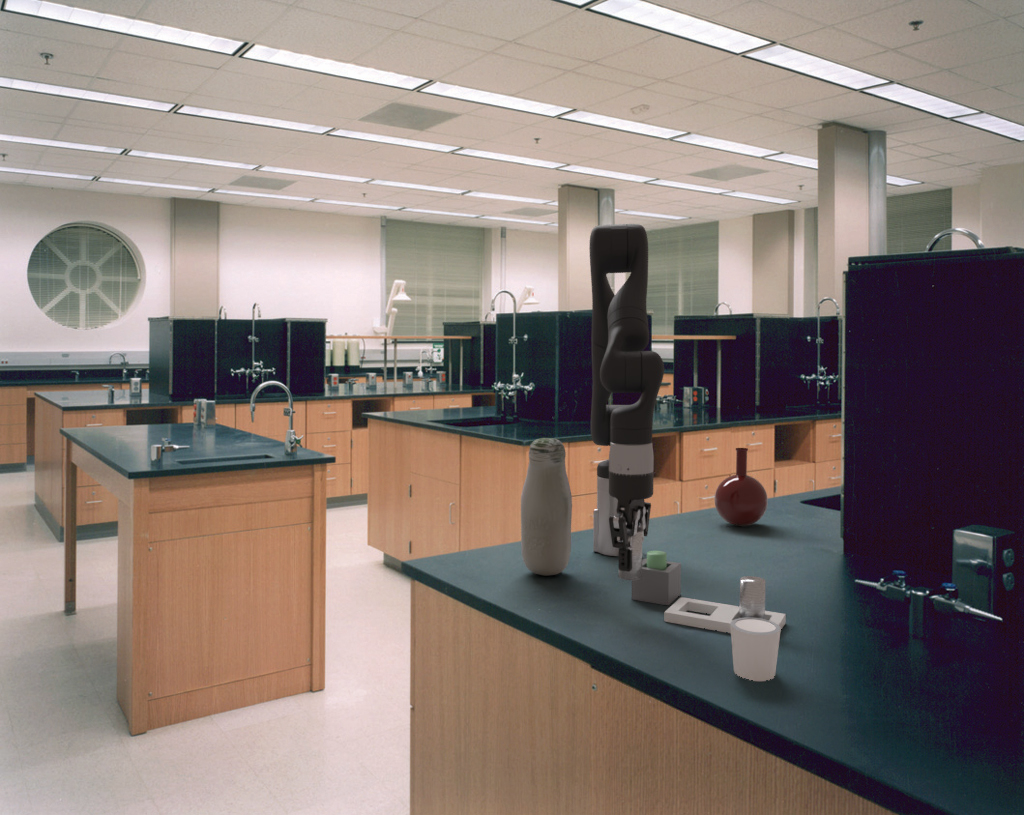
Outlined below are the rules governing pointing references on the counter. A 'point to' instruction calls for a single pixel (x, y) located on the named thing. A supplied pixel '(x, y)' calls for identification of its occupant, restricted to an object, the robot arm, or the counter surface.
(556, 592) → the counter surface
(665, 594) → the grey square holder
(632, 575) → the cylinder
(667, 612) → the grey flat frame
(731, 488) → the round-bottom flask
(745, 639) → the white cup
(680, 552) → the counter surface
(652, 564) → the button
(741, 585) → the seated billet
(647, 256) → the robot arm
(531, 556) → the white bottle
